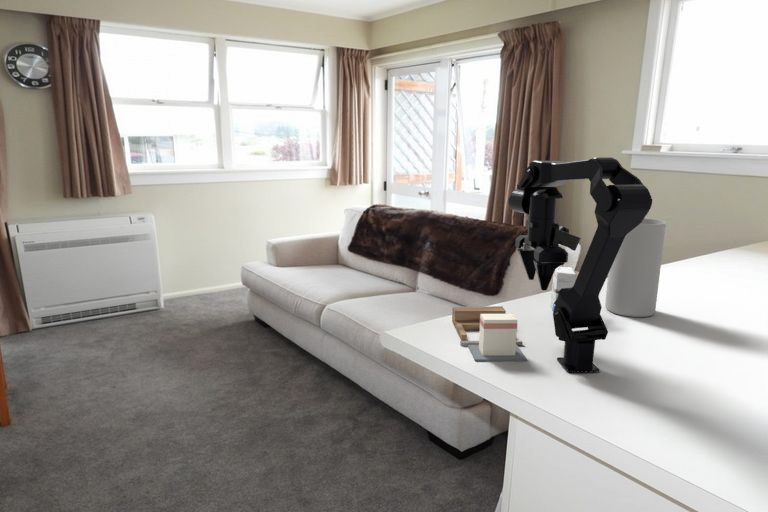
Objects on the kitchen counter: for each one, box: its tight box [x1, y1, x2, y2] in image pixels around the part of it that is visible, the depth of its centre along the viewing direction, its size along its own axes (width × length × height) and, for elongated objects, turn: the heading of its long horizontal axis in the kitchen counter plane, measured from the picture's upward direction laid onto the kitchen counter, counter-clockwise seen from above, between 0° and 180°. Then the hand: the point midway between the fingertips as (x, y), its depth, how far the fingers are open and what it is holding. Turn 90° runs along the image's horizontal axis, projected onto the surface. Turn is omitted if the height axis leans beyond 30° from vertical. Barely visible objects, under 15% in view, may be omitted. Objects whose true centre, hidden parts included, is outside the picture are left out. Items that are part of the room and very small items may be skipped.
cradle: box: [451, 305, 524, 347], centre depth 123 cm, size 16×14×4 cm
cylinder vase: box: [604, 218, 667, 318], centre depth 138 cm, size 12×12×25 cm
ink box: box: [550, 266, 577, 312], centre depth 139 cm, size 8×5×12 cm, turn 168°
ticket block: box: [478, 313, 518, 356], centre depth 110 cm, size 4×7×8 cm, turn 92°
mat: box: [467, 345, 528, 362], centre depth 111 cm, size 8×11×1 cm
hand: (537, 284), depth 117 cm, fingers open, 9 cm apart
